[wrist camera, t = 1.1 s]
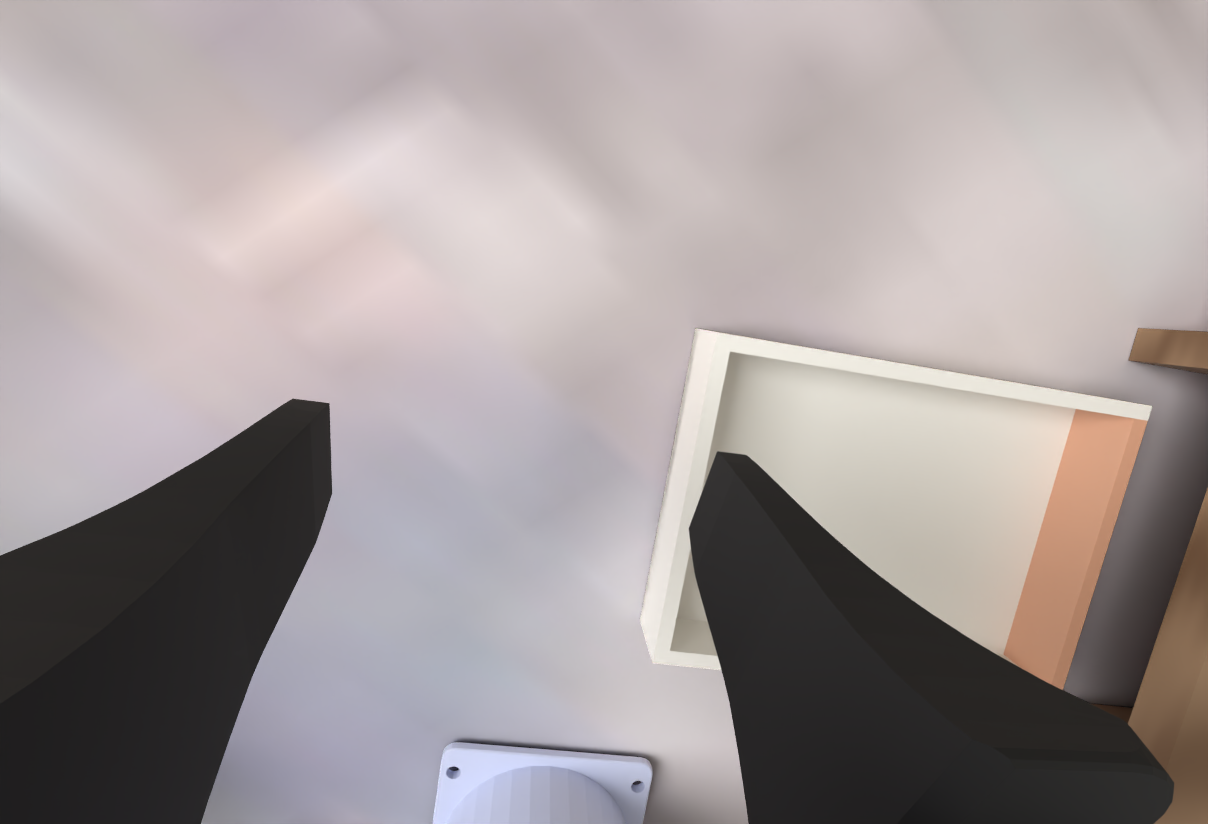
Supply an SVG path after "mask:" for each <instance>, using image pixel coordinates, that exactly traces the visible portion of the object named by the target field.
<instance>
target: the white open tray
mask: <svg viewBox="0 0 1208 824" xmlns="http://www.w3.org/2000/svg"><path fill="white" fill-rule="evenodd" d="M1151 409H1152V406H1149V405H1143V404H1138V403H1132V402H1127V401H1121V400H1115V399H1110V398H1104V397H1098V396H1093V395H1087V394H1082V393H1076V392H1070V391H1064V390H1058V389H1052V388H1046V387H1040V386H1034V385H1029V384H1023V383H1017V382H1011V381H1005V380H999V379H993V378H987V377H981V376H975V375H969V374H964V373H958V372H952V371H946V370H940V369H934V368H928V367H922V366H916V365H910V364H905V363H899V362H893V361H887V360H881V359H875V358H869V357H863V356H857V355H851V354H845V353H840V352H834V351H828V350H822V349H816V348H810V347H804V346H798V345H792V344H786V343H781V342H775V341H769V340H763V339H757V338H751V337H745V336H739V335H733V334H727V333H721V332H716V331H710V330H704V329H698V328H695V333H694V338H693V343H692V348H691V354H690V359H689V364H688V369H687V375H686V380H685V385H684V390H683V396H682V401H681V406H680V411H679V417H678V422H677V427H676V432H675V438H674V443H673V448H672V453H671V459H670V464H669V469H668V474H667V480H666V485H665V490H664V495H663V501H662V506H661V511H660V516H659V522H658V527H657V532H656V537H655V543H654V548H653V553H652V558H651V564H650V569H649V574H648V580H647V585H646V590H645V595H644V601H643V606H642V611H641V616H640V623H641V626H642V630H643V633H644V637H645V640H646V643H647V647H648V650H649V653H650V657H651V660H652V663H655V664H665V665H674V666H684V667H694V668H704V669H714V670H721V666H720V663H719V659H718V656H717V652H716V649H715V645H714V642H713V638H712V635H711V631H710V628H709V624H708V621H707V617H706V614H705V610H704V607H703V603H702V600H701V596H700V592H699V589H698V585H697V581H696V577H695V573H694V566H693V560H692V553H691V545H690V536H689V526H690V524H691V521H692V518H693V515H694V513H695V510H696V507H697V505H698V502H699V499H700V496H701V494H702V491H703V488H704V486H705V483H706V480H707V477H708V475H709V472H710V469H711V466H712V464H713V461H714V458H715V456H716V453H717V451H720V452H728V453H736V454H744V455H747V456H748V457H750V458H751V459H752V460H753V461H754V462H755V463H757V464H758V465H759V466H760V467H761V468H762V469H763V470H764V471H765V472H766V473H767V474H768V475H769V476H770V477H771V478H772V479H773V480H774V481H776V482H777V483H778V484H779V485H780V486H781V487H782V488H783V489H784V490H785V491H786V492H787V493H788V494H789V495H790V496H791V497H792V498H793V499H794V500H795V501H796V502H797V503H798V504H799V505H800V506H801V507H802V508H803V509H804V510H805V511H806V512H807V513H808V514H809V515H811V516H812V517H813V518H814V519H815V520H816V521H817V522H818V523H819V524H820V525H821V526H822V527H823V528H824V529H826V530H827V531H828V532H829V533H830V534H831V535H832V536H833V537H834V538H835V539H837V540H838V541H839V542H840V543H841V544H842V545H843V546H845V547H846V548H847V549H848V550H849V551H850V552H852V553H853V554H854V555H855V556H856V557H857V558H859V559H860V560H861V561H862V562H863V563H864V564H866V565H867V566H868V567H869V568H871V569H872V570H873V571H874V572H876V573H877V574H878V575H879V576H881V577H882V578H883V579H885V580H886V581H887V582H889V583H890V584H891V585H893V586H894V587H895V588H897V589H898V590H899V591H901V592H902V593H903V594H905V595H906V596H907V597H909V598H910V599H911V600H913V601H914V602H916V603H917V604H918V605H920V606H921V607H923V608H924V609H926V610H927V611H929V612H930V613H931V614H933V615H934V616H936V617H938V618H939V619H941V620H942V621H944V622H945V623H947V624H948V625H950V626H951V627H953V628H955V629H956V630H958V631H959V632H961V633H962V634H964V635H965V636H967V637H968V638H970V639H972V640H973V641H975V642H977V643H978V644H980V645H982V646H983V647H985V648H987V649H988V650H990V651H992V652H993V653H995V654H997V655H999V656H1000V657H1002V658H1004V659H1006V660H1007V661H1009V662H1011V663H1013V664H1015V665H1016V666H1018V667H1020V668H1022V669H1024V670H1025V671H1027V672H1029V673H1031V674H1033V675H1034V676H1036V677H1038V678H1040V679H1042V680H1044V681H1045V682H1047V683H1049V684H1051V685H1053V686H1055V687H1057V688H1059V689H1061V690H1063V688H1064V684H1065V681H1066V678H1067V675H1068V672H1069V669H1070V665H1071V662H1072V659H1073V656H1074V653H1075V650H1076V646H1077V643H1078V640H1079V637H1080V634H1081V631H1082V627H1083V624H1084V621H1085V618H1086V615H1087V612H1088V609H1089V605H1090V602H1091V599H1092V596H1093V593H1094V590H1095V586H1096V583H1097V580H1098V577H1099V574H1100V571H1101V567H1102V564H1103V561H1104V558H1105V555H1106V552H1107V548H1108V545H1109V542H1110V539H1111V536H1112V533H1113V529H1114V526H1115V523H1116V520H1117V517H1118V514H1119V510H1120V507H1121V504H1122V501H1123V498H1124V495H1125V491H1126V488H1127V485H1128V482H1129V479H1130V476H1131V472H1132V469H1133V466H1134V463H1135V460H1136V457H1137V453H1138V450H1139V447H1140V444H1141V441H1142V438H1143V434H1144V431H1145V428H1146V425H1147V422H1148V419H1149V415H1150V412H1151Z"/></svg>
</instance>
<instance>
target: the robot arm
mask: <svg viewBox="0 0 1208 824" xmlns="http://www.w3.org/2000/svg"><path fill="white" fill-rule="evenodd" d="M331 495H332V476H331V443H330V409H329V403H323V402H315V401H307V400H299V399H291V400H290V401H288V402H287V403H285V404H283V405H282V406H280V407H279V408H277V409H276V410H274V411H273V412H271V413H270V414H268V415H267V416H265V417H264V418H262V419H261V420H259V421H258V422H256V423H255V424H253V425H252V426H250V427H249V428H247V429H246V430H244V431H243V432H241V433H240V434H238V435H237V436H235V437H234V438H232V439H230V440H229V441H227V442H226V443H224V444H223V445H221V446H220V447H218V448H216V449H215V450H213V451H212V452H210V453H209V454H207V455H205V456H204V457H202V458H201V459H199V460H197V461H195V462H194V463H192V464H190V465H188V466H187V467H185V468H183V469H181V470H180V471H178V472H176V473H175V474H173V475H171V476H169V477H168V478H166V479H164V480H162V481H161V482H159V483H157V484H155V485H154V486H152V487H150V488H148V489H147V490H145V491H143V492H141V493H139V494H137V495H135V496H133V497H132V498H130V499H128V500H126V501H124V502H122V503H120V504H118V505H116V506H114V507H112V508H110V509H107V510H105V511H103V512H101V513H99V514H97V515H95V516H93V517H91V518H88V519H86V520H84V521H82V522H80V523H78V524H76V525H73V526H71V527H69V528H67V529H64V530H62V531H60V532H57V533H55V534H52V535H50V536H48V537H45V538H43V539H40V540H38V541H35V542H33V543H30V544H28V545H25V546H23V547H20V548H18V549H15V550H13V551H11V552H8V553H6V554H3V555H1V556H0V824H201V821H202V818H203V815H204V812H205V808H206V805H207V802H208V799H209V796H210V793H211V791H212V788H213V785H214V782H215V779H216V776H217V773H218V770H219V767H220V765H221V762H222V759H223V756H224V753H225V750H226V747H227V744H228V741H229V738H230V736H231V733H232V730H233V727H234V725H235V722H236V719H237V716H238V714H239V711H240V708H241V705H242V703H243V700H244V697H245V694H246V692H247V689H248V686H249V684H250V681H251V678H252V676H253V673H254V671H255V669H256V667H257V664H258V662H259V660H260V657H261V655H262V653H263V651H264V649H265V647H266V644H267V642H268V640H269V638H270V636H271V634H272V632H273V630H274V628H275V626H276V624H277V622H278V620H279V618H280V616H281V614H282V612H283V610H284V608H285V606H286V604H287V601H288V599H289V597H290V595H291V593H292V591H293V589H294V587H295V585H296V583H297V581H298V579H299V577H300V575H301V573H302V571H303V569H304V566H305V564H306V562H307V560H308V558H309V556H310V554H311V552H312V550H313V548H314V545H315V543H316V541H317V538H318V535H319V532H320V529H321V526H322V523H323V520H324V517H325V514H326V511H327V507H328V504H329V501H330V498H331ZM689 536H690V545H691V553H692V560H693V566H694V573H695V577H696V581H697V585H698V589H699V592H700V596H701V600H702V603H703V607H704V610H705V614H706V617H707V621H708V624H709V628H710V631H711V635H712V638H713V642H714V645H715V649H716V652H717V656H718V659H719V663H720V666H721V670H722V673H723V677H724V681H725V685H726V689H727V693H728V697H729V702H730V707H731V713H732V719H733V724H734V730H735V736H736V741H737V747H738V753H739V760H740V766H741V773H742V780H743V786H744V793H745V799H746V806H747V814H748V822H749V824H1154V823H1155V822H1156V821H1157V820H1158V819H1159V818H1161V817H1162V816H1163V815H1164V814H1165V812H1166V811H1167V809H1168V808H1169V806H1170V805H1171V803H1172V801H1173V794H1174V782H1173V780H1172V779H1171V777H1170V776H1169V774H1168V773H1167V772H1166V770H1165V769H1164V768H1163V767H1162V766H1161V764H1160V763H1159V762H1158V761H1157V759H1156V758H1155V757H1154V756H1153V754H1152V753H1151V752H1150V751H1149V749H1148V748H1147V747H1146V746H1145V744H1144V743H1143V742H1142V741H1141V739H1140V738H1139V737H1138V736H1137V734H1136V733H1135V732H1134V731H1133V729H1132V728H1131V727H1130V726H1129V725H1128V724H1127V723H1126V722H1125V721H1124V720H1122V719H1120V718H1118V717H1116V716H1114V715H1112V714H1110V713H1108V712H1106V711H1104V710H1102V709H1100V708H1098V707H1096V706H1094V705H1092V704H1090V703H1088V702H1086V701H1084V700H1082V699H1080V698H1078V697H1076V696H1074V695H1072V694H1070V693H1068V692H1065V691H1063V690H1061V689H1059V688H1057V687H1055V686H1053V685H1051V684H1049V683H1047V682H1045V681H1044V680H1042V679H1040V678H1038V677H1036V676H1034V675H1033V674H1031V673H1029V672H1027V671H1025V670H1024V669H1022V668H1020V667H1018V666H1016V665H1015V664H1013V663H1011V662H1009V661H1007V660H1006V659H1004V658H1002V657H1000V656H999V655H997V654H995V653H993V652H992V651H990V650H988V649H987V648H985V647H983V646H982V645H980V644H978V643H977V642H975V641H973V640H972V639H970V638H968V637H967V636H965V635H964V634H962V633H961V632H959V631H958V630H956V629H955V628H953V627H951V626H950V625H948V624H947V623H945V622H944V621H942V620H941V619H939V618H938V617H936V616H934V615H933V614H931V613H930V612H929V611H927V610H926V609H924V608H923V607H921V606H920V605H918V604H917V603H916V602H914V601H913V600H911V599H910V598H909V597H907V596H906V595H905V594H903V593H902V592H901V591H899V590H898V589H897V588H895V587H894V586H893V585H891V584H890V583H889V582H887V581H886V580H885V579H883V578H882V577H881V576H879V575H878V574H877V573H876V572H874V571H873V570H872V569H871V568H869V567H868V566H867V565H866V564H864V563H863V562H862V561H861V560H860V559H859V558H857V557H856V556H855V555H854V554H853V553H852V552H850V551H849V550H848V549H847V548H846V547H845V546H843V545H842V544H841V543H840V542H839V541H838V540H837V539H835V538H834V537H833V536H832V535H831V534H830V533H829V532H828V531H827V530H826V529H824V528H823V527H822V526H821V525H820V524H819V523H818V522H817V521H816V520H815V519H814V518H813V517H812V516H811V515H809V514H808V513H807V512H806V511H805V510H804V509H803V508H802V507H801V506H800V505H799V504H798V503H797V502H796V501H795V500H794V499H793V498H792V497H791V496H790V495H789V494H788V493H787V492H786V491H785V490H784V489H783V488H782V487H781V486H780V485H779V484H778V483H777V482H776V481H774V480H773V479H772V478H771V477H770V476H769V475H768V474H767V473H766V472H765V471H764V470H763V469H762V468H761V467H760V466H759V465H758V464H757V463H755V462H754V461H753V460H752V459H751V458H750V457H748V456H747V455H744V454H736V453H728V452H720V451H717V453H716V456H715V458H714V461H713V464H712V466H711V469H710V472H709V475H708V477H707V480H706V483H705V486H704V488H703V491H702V494H701V496H700V499H699V502H698V505H697V507H696V510H695V513H694V515H693V518H692V521H691V524H690V526H689ZM453 766H455V767H458V768H459V770H458V771H452V770H450V769H449V768H450V767H453ZM652 776H653V771H652V766H651V764H650V762H649V761H648V760H647V759H646V758H642V757H632V756H620V755H608V754H595V753H583V752H571V751H559V750H547V749H535V748H522V747H510V746H498V745H486V744H474V743H462V742H455V743H451V744H449V745H447V746H446V748H445V749H444V751H443V755H442V759H441V766H440V774H439V781H438V788H437V795H436V802H435V809H434V816H433V824H643V820H644V816H645V811H646V806H647V801H648V796H649V791H650V786H651V781H652ZM635 781H642V783H640V784H639V785H633V784H632V783H634V782H635Z"/></svg>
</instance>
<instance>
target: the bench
mask: <svg viewBox="0 0 1208 824" xmlns="http://www.w3.org/2000/svg"><path fill="white" fill-rule="evenodd" d="M1129 360H1130V361H1136V362H1141V363H1147V364H1152V365H1158V366H1164V367H1169V368H1175V369H1180V370H1186V371H1192V372H1197V373H1203V374H1208V332H1200V331H1181V330H1161V329H1142V328H1138V331H1137V334H1136V338H1135V341H1134V344H1133V348H1132V351H1131V354H1130V357H1129ZM1092 705H1094V706H1096V707H1098V708H1100V709H1102V710H1104V711H1106V712H1108V713H1110V714H1112V715H1114V716H1116V717H1118V718H1120V719H1122V720H1124V721H1125V722H1126V723H1127V724H1128V725H1129V726H1130V727H1131V728H1132V729H1133V731H1134V732H1135V733H1136V734H1137V736H1138V737H1139V738H1140V739H1141V741H1142V742H1143V743H1144V744H1145V746H1146V747H1147V748H1148V749H1149V751H1150V752H1151V753H1152V754H1153V756H1154V757H1155V758H1156V759H1157V761H1158V762H1159V763H1160V764H1161V766H1162V767H1163V768H1164V769H1165V770H1166V772H1167V773H1168V774H1169V776H1170V777H1171V779H1172V780H1173V782H1174V794H1173V801H1172V803H1171V805H1170V806H1169V808H1168V809H1167V811H1166V812H1165V814H1164V815H1163V816H1162V817H1161V818H1159V819H1158V820H1157V821H1156V822H1155V823H1154V824H1208V488H1207V491H1206V494H1205V497H1204V500H1203V503H1202V506H1201V509H1200V512H1199V515H1198V518H1197V521H1196V524H1195V527H1194V530H1193V533H1192V536H1191V539H1190V541H1189V544H1188V547H1187V550H1186V553H1185V556H1184V559H1183V562H1182V565H1181V568H1180V571H1179V574H1178V577H1177V580H1176V583H1175V586H1174V589H1173V592H1172V595H1171V598H1170V601H1169V604H1168V607H1167V610H1166V612H1165V615H1164V618H1163V621H1162V624H1161V627H1160V630H1159V633H1158V636H1157V639H1156V642H1155V645H1154V648H1153V651H1152V654H1151V657H1150V660H1149V663H1148V666H1147V669H1146V672H1145V675H1144V678H1143V681H1142V683H1141V686H1140V689H1139V692H1138V695H1137V698H1136V701H1135V704H1134V707H1133V708H1129V707H1119V706H1109V705H1099V704H1092Z"/></svg>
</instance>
